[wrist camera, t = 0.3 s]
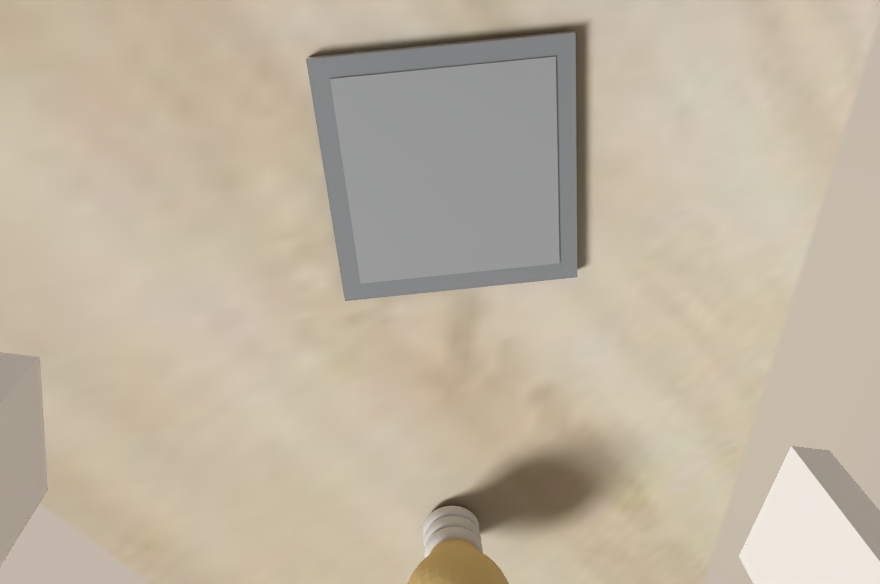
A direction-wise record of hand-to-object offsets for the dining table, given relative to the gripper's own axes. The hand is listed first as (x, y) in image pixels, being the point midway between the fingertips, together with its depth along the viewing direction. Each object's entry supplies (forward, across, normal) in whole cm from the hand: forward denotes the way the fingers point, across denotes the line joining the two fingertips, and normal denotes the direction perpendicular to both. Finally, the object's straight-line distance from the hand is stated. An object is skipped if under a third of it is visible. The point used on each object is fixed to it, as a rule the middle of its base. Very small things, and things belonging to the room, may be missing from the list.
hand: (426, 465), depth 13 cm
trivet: (+27, +3, -2) cm, 28 cm away
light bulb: (+27, +7, -26) cm, 39 cm away
